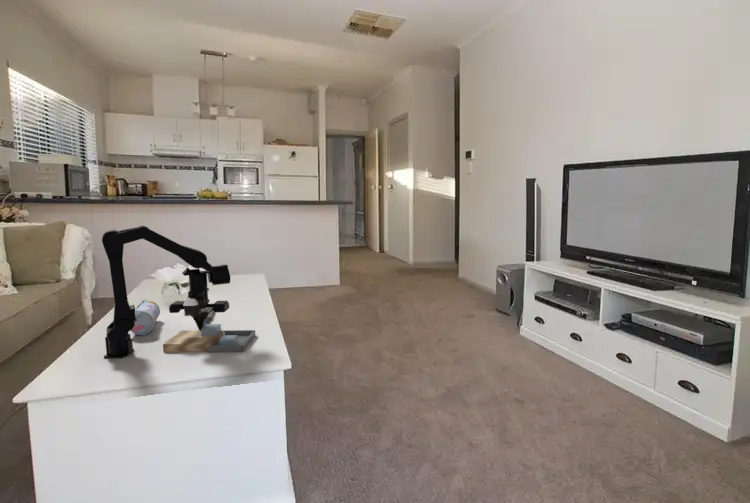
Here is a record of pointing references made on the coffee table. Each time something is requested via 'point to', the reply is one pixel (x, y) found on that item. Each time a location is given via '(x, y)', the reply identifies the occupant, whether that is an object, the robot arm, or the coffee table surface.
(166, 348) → the oak board
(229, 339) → the tile near
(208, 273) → the robot arm
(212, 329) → the tile far
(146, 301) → the pencil case
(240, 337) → the tray
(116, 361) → the coffee table surface
